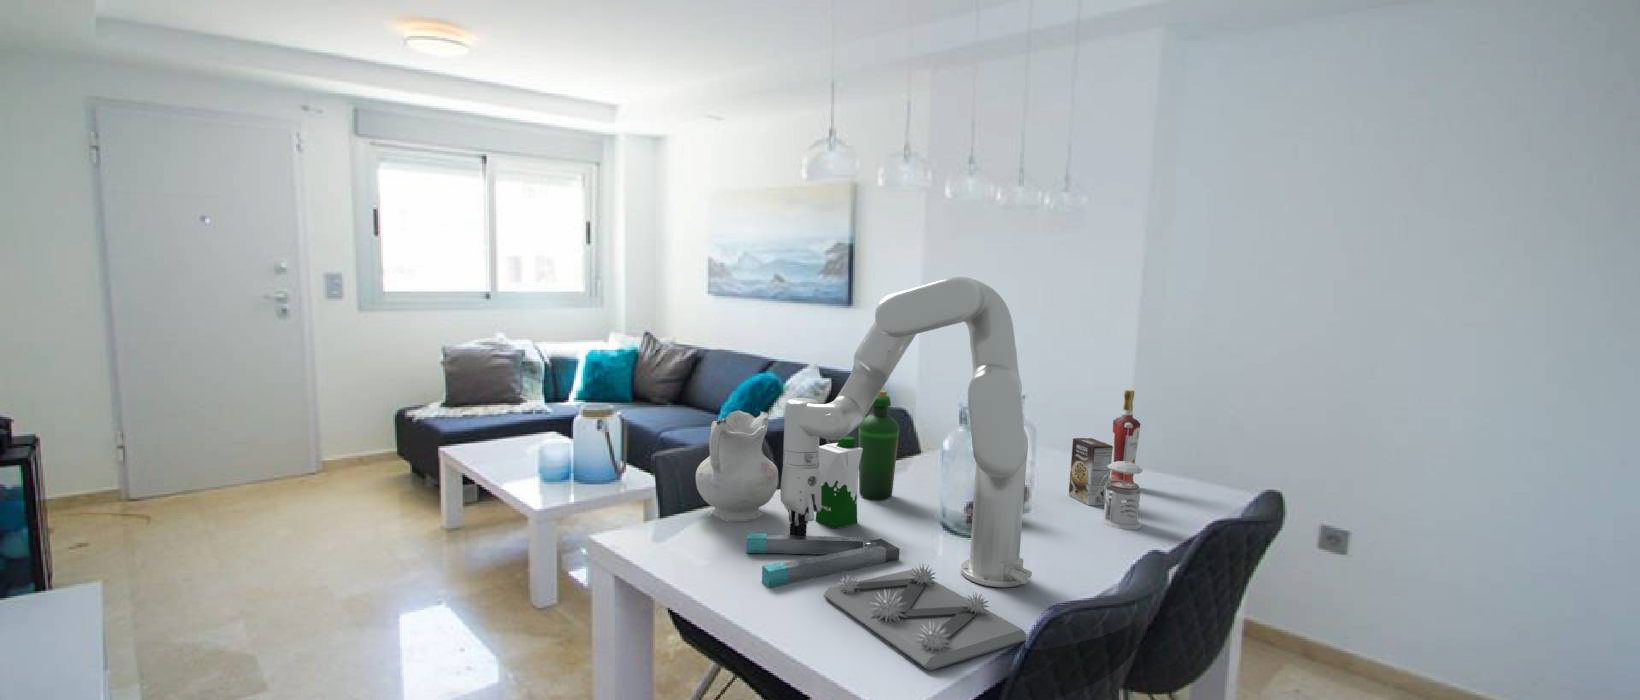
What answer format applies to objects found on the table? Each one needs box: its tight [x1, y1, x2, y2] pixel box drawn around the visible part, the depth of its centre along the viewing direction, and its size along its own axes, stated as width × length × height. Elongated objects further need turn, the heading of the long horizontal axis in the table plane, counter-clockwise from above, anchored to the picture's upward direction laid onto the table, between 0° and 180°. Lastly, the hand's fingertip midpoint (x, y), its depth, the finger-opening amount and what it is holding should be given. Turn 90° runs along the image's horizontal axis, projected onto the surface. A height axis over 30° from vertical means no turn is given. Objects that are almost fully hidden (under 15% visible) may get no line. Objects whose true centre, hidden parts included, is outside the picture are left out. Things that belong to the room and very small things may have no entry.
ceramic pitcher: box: [695, 410, 779, 523], centre depth 179 cm, size 22×20×25 cm
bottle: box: [858, 390, 900, 501], centre depth 199 cm, size 11×11×28 cm
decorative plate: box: [823, 562, 1027, 672], centre depth 130 cm, size 30×22×7 cm
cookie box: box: [1068, 437, 1113, 506], centre depth 204 cm, size 9×6×16 cm
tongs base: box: [761, 538, 900, 589], centre depth 151 cm, size 30×7×3 cm, turn 122°
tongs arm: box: [745, 532, 877, 555], centre depth 157 cm, size 27×5×3 cm, turn 92°
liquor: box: [1110, 389, 1141, 483], centre depth 219 cm, size 7×7×28 cm
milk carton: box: [814, 435, 863, 530], centre depth 177 cm, size 9×9×20 cm
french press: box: [1099, 423, 1144, 530], centre depth 185 cm, size 10×12×25 cm
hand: (797, 541), depth 162 cm, fingers closed
